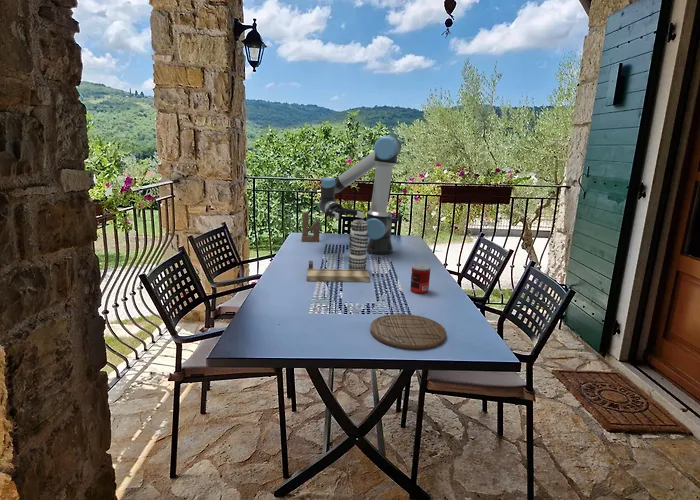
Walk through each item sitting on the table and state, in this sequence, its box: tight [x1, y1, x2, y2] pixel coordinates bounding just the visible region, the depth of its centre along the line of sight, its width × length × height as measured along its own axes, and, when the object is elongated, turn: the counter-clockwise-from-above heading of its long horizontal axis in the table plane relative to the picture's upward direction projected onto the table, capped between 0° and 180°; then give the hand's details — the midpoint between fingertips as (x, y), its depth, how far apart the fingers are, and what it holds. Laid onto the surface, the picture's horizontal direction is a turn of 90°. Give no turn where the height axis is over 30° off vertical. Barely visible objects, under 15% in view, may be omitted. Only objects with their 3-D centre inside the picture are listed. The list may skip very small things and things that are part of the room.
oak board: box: [306, 268, 371, 283], centre depth 201 cm, size 28×11×3 cm, turn 95°
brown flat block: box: [308, 260, 314, 269], centre depth 210 cm, size 2×6×4 cm, turn 5°
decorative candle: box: [347, 219, 369, 270], centre depth 210 cm, size 9×9×25 cm
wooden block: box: [301, 211, 321, 243], centre depth 269 cm, size 4×11×18 cm, turn 93°
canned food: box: [409, 263, 431, 295], centre depth 186 cm, size 8×8×11 cm
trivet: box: [369, 313, 447, 351], centre depth 146 cm, size 25×25×2 cm
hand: (350, 216), depth 215 cm, fingers open, 13 cm apart
